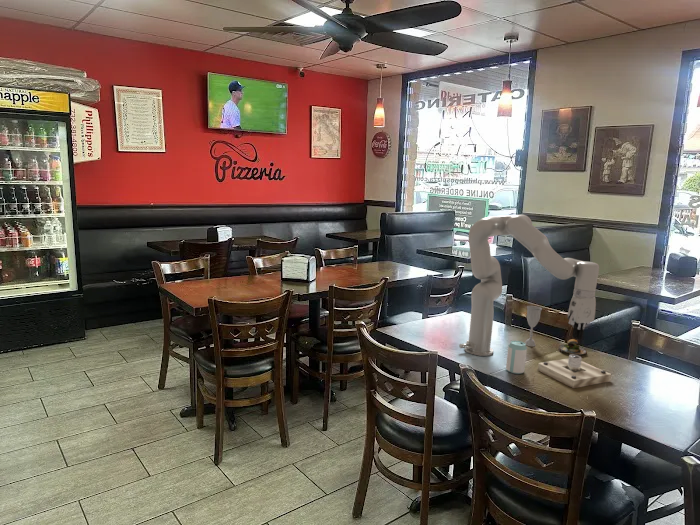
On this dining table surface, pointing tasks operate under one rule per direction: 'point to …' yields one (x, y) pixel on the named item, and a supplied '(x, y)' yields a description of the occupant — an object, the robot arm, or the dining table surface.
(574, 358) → the bushing
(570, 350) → the burger
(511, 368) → the can
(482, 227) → the robot arm
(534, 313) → the chalice
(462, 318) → the dining table surface
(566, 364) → the plate
